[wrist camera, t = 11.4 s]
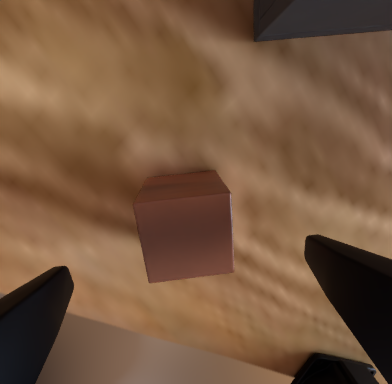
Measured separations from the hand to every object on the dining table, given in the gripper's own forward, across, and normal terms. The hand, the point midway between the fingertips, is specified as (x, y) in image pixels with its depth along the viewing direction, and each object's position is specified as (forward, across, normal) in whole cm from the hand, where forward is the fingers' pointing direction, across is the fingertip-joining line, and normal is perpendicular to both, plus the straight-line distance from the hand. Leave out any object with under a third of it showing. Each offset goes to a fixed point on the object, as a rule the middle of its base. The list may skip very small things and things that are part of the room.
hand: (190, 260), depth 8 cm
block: (+5, 0, 0) cm, 5 cm away
